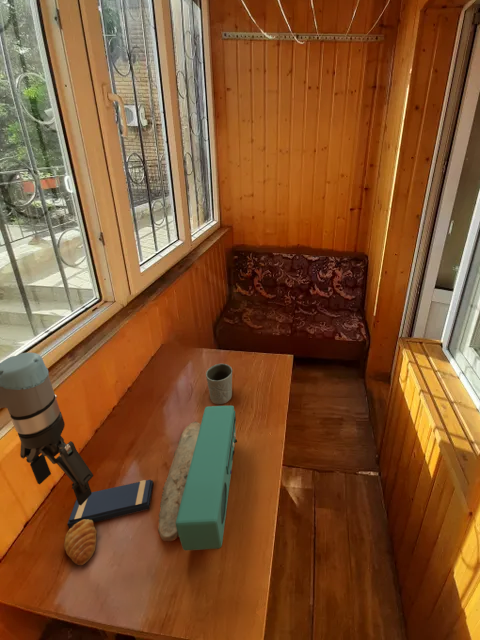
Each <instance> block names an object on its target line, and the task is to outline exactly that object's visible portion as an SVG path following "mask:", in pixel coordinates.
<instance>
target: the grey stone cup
mask: <svg viewBox="0 0 480 640" xmlns="http://www.w3.org/2000/svg"><path fill="white" fill-rule="evenodd" d="M205 379H206V381H207V388H208V392H209V399H210V401H211V402H212V403H213V404H215V405H224V404H226V403H228V402H229V401H231V399H232V396H233V368H232V366H230V365H229V364H226V363H216V364H214V365H212V366H210V367H209V368H208V369H207V370H206V372H205Z"/></svg>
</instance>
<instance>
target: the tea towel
mask: <svg viewBox="0 0 480 640" xmlns="http://www.w3.org/2000/svg"><path fill="white" fill-rule="evenodd" d="M153 490H154V480H153V479H142V480H140V481H138V482H132V483H127V484H123V485H119V486H113V487H110V488H105V489H101V490H95V491H91V493H92V494H91V495H90V496H89V497H88V498H87V500H86V501H85V502H84V503H83V504H82V505H79V504H78V501H77V499H76V500H75V502H74V505H73V508H72V511H71V513H70V515H69V518H68V521H67V528H68V529H70V528H72V527H73V525H74V524H76V523H78V522H79V521H81V520H83V519H86V520H87V519H89V520H93V523H94V524H95V523H97V522H101V521H102V522H103V521H105V520H110V519H114V518H118V517H122V516H123V517H124V516H127V515H130V514H136V513H139V512H143V511H147V510H150V507H151V502H152V497H153Z"/></svg>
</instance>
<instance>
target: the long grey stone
mask: <svg viewBox="0 0 480 640" xmlns="http://www.w3.org/2000/svg"><path fill="white" fill-rule="evenodd" d="M200 426H201V423H200V422H198V421H193V422H190V423H189V424H188V425H187V426H186V427H185V428H184V430H183V431H182V433H181V435H180V438H179V441H178V442H177V443H178V444H177V447H176V449H175V451H174V453H173V459H172V461H171V465H170V467H169V470H168V473H167V474H168V475H167V477H166V478H165V481H164V486H163V487H162V494H161V500H160V504H159V506H160V507H159V508H160V510H159V513H158V528H157V531H158V534H159V538H161V540H162V541H164V542H173V541H175V540H177V538H179V535H178V531H177V528H176V519H177V516H178V512H179V508H180V504H181V500H182V496H183V492H184V488H185V484H186V480H187V477H188V473H189V469H190V465H191V461H192V457H193V453H194V449H195V445H196V441H197V438H198V434H199V430H200Z"/></svg>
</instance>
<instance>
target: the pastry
mask: <svg viewBox="0 0 480 640" xmlns="http://www.w3.org/2000/svg"><path fill="white" fill-rule="evenodd" d="M97 533H98V531H97V529H96V527H95V522H94V523H93V520H89V519H87V520H86V519H83V520H81V521H79V522H78V523H76V524H74V525H73V527H72V528H69V529H68V531H67V532H66V534H65V536H64V544H63V548H64V550H65V554H66V555H67V556H68V557H69V558H70V559H71V561H72V562H73V563H74V564H75V565H78V566H83V565H84V564H86V563H88V561H90V559H91V558H92V557H93V555H94V553H95V551H96V546H97V545H96V544H97V535H98V534H97Z"/></svg>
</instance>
